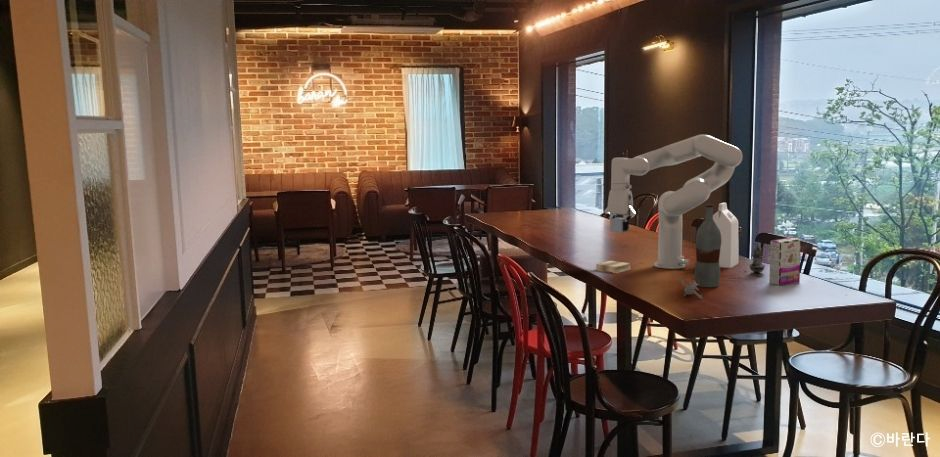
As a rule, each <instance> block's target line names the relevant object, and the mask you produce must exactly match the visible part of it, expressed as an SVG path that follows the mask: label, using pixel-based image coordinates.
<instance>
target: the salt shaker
mask: <svg viewBox="0 0 940 457" xmlns="http://www.w3.org/2000/svg"><path fill="white" fill-rule="evenodd" d="M752 257H753V258H752V263H751V264H748V265H749V269H750V271H751V272H750V273H749V276H754V277H762V276H764V275H765V274H764V273H763V271H764V269H765V267H766V265H764V264H762V263H763V262H762V257H763V256H762V247H761V246H759V244H757V246H755V247H754V248H753V255H752Z"/></svg>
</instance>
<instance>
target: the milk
mask: <svg viewBox="0 0 940 457" xmlns="http://www.w3.org/2000/svg"><path fill="white" fill-rule="evenodd" d="M713 220H714V222H715V223H716V225H717V227H718V228H719V230H720V233H721V240H722V242H721V248H720V258H719V265H720V268H727V269H731V268H733V267H735V266H736V265H738V264H739V259H740V258H739V253H740V252H739V246H740V245H739V244H740V243H739V220H738V218H737V217H736V216H735V215H734V214H733V213H732V212H731V211H730V210H729V209H728V204H727V202H721V203H719V204H718V211H716V212H715V213H713Z"/></svg>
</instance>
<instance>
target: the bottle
mask: <svg viewBox="0 0 940 457" xmlns="http://www.w3.org/2000/svg"><path fill="white" fill-rule="evenodd" d="M713 215H714V204H712V203H706V204H705V218H704V220H703V221H702V223H701V224H700V225H699V227H698V228H697V231H696V233H695V239H694V240H695V256H696V258H695V259H696V262H695V265H694V266H695V268H694V275H693V276H694V282H695V281H696V282H695V283H697V284H698V285H697V286H698V287H703V288H716V287H719V285H720V281H721V280H720V279H721V267H720V265H719V258H720V248H721V242H722V240H721V233H720V230H719V228H718V227H717V225H716V223H715V222H714V220H713ZM697 286H696V287H697Z"/></svg>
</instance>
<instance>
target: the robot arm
mask: <svg viewBox="0 0 940 457" xmlns="http://www.w3.org/2000/svg"><path fill="white" fill-rule="evenodd" d="M699 157H704V158H706V159H707V160H710V161H712V162H714V164H713V165H712V166H711V167H710V168H708V169H707V170H705V171H704V172H702V173H700V174H699V175H697V176H695V177H693V178H690V179H688V180H687V181H686V182H685V183H684V184H683V186H682V187H681V188H679V189H677V190H676V191H674V190H673V191H672V190H668V191H665V192H664V193H662V194H661V195H660V196H659V199H658V203H657V205H658V206H657V207H658V242H657V243H658V244H657V246H658V248H657V261H655V262H653V267H656V268H658V269H659V268H660V269H667V270H677V269H684V268H685V267H686V265H687V266H689V265H690V263H691V260H690V259H685V256H684V255H683V253H682V252H683V250H682V249H683V246H682V245H683V215H684V214H686V213H688V212H690V211H691V210H692V209H695V208H696V207H698V206H700V205H702V204H703V203H705V202H706V201H707V200H708V199H709V198H710V196H711V193H712V192H713V191H716V190H717V189H718V188H720V187H722V186H724V185H725V184H726V183H728V182H729V181H730V179H731V178H732V176H733V174H734V172H735V169H736V167H738V166H739V165H740V164H741V162H742V161H743V152H742V150H741V149H740V148H738V146H734V145H732V144H730V143H727V142H724V141H722V140H720V139H718V138H715V137H714V136H712V135H708V134H697V135H695V136H691V137H688V138H686V139H683V140H680V141H678V142H673V143H671V144H668V145H665V146H663V147H660V148H657V149H655V150H651V151H647V152H645V153H643V154H640V155H639V154H638V155H637V156H634V157H633V158H629V157H614V158H612V159H611V174H610V175H611V179H610V181H611V182H610V190H609V191H608V192H609V193H608V199H607V207H606V208H605V209H604V210H603V212H604V214H606V216H607V218H608V219H609V220H608V221H610V219H612V218H617V215H622V218H624V222H623V231H628V229H629V228H630V221H631V220H632V219H633V218H634V217H635V216H636V215H637V213H636V211H635V209H634V199H633V198H634V197H633V193H632V190H630V189H632V188H633V187H632V184H630V179H631V178H630V176H631V175H633V176H644V175H646V174H647V173H648V172H649V171H651V170H655V169H658V168H661V167H662V168H663V167H666V166H667V167H669V166H674V165H679V164H681V163H684V162H688V161H690V160H693V159H696V158H699Z"/></svg>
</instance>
